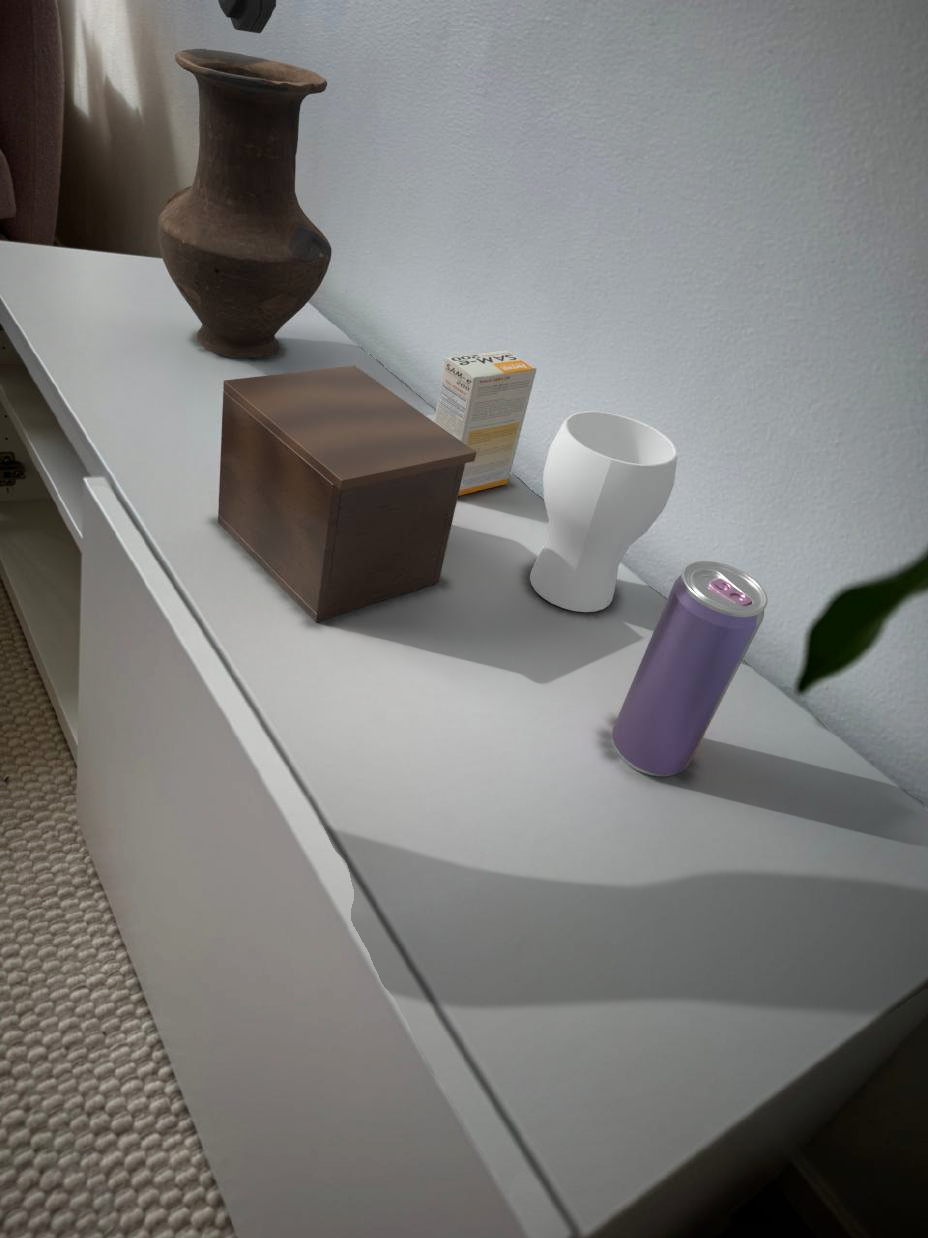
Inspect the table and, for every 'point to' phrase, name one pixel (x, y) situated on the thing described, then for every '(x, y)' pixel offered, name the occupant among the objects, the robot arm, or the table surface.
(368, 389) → the case lid
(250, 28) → the robot arm
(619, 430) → the cup
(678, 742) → the beverage can
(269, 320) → the vase
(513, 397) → the supplement box
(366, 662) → the table surface
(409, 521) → the case
